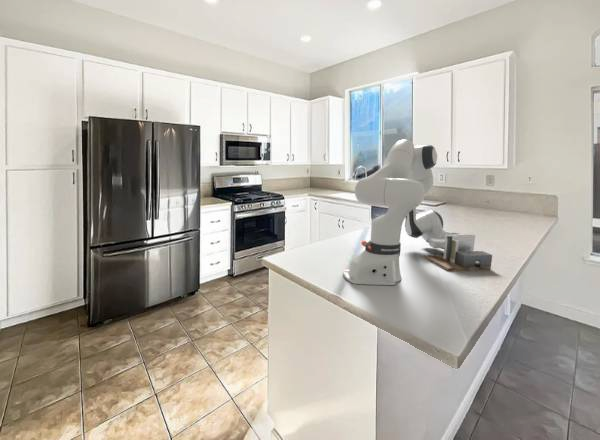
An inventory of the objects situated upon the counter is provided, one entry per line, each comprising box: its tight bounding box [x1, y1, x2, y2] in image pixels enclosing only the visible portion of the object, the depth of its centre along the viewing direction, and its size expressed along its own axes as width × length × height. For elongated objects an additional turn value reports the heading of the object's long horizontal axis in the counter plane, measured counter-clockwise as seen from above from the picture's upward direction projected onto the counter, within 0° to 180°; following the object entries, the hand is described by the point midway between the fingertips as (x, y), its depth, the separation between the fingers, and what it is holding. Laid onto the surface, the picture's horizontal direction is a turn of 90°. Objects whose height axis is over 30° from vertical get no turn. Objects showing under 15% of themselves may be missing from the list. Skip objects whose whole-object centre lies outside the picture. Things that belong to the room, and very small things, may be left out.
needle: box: [445, 236, 453, 262], centre depth 141 cm, size 1×1×12 cm
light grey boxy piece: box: [445, 233, 480, 265], centre depth 139 cm, size 14×12×11 cm
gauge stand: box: [423, 239, 493, 272], centre depth 143 cm, size 20×19×11 cm
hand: (461, 247), depth 145 cm, fingers closed, pressing on light grey boxy piece
